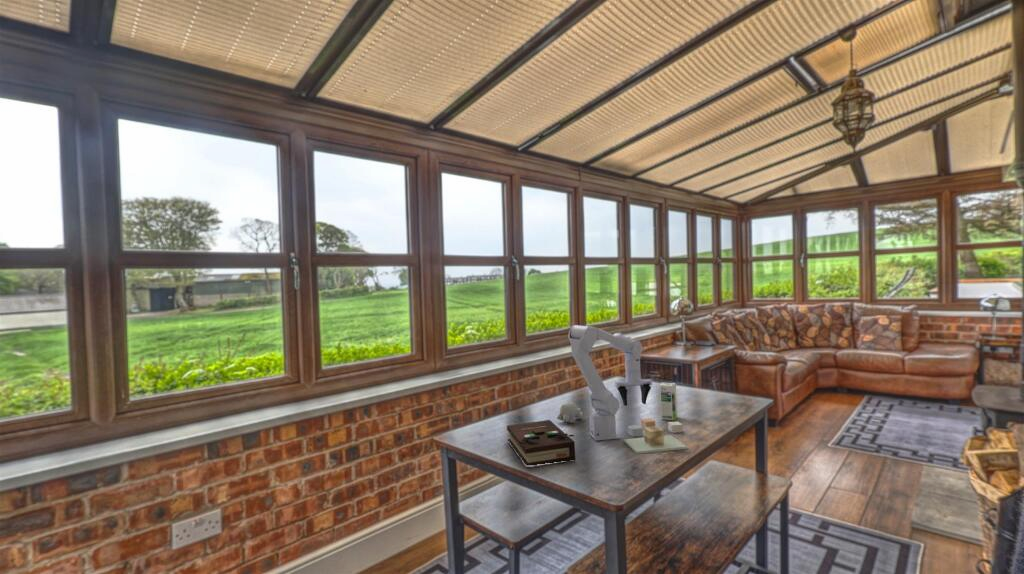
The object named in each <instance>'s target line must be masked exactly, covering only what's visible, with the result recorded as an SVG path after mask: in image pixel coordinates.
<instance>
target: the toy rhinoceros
mask: <svg viewBox="0 0 1024 574" xmlns="http://www.w3.org/2000/svg"><path fill="white" fill-rule="evenodd" d="M582 409H583V408H582V407H578V406H577V405H576V404H575V403H574V402H572V401H564V402H562V403H561V405H560V407H559V413H558V414H557V416H556V419H557V420H559V421H563V422H565V421H566V422H565V423H569V424H574V421H575V420H574V419H576V420H578V419H579V420H580V419H582V415H583V412H582Z"/></svg>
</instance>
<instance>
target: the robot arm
mask: <svg viewBox="0 0 1024 574" xmlns="http://www.w3.org/2000/svg"><path fill="white" fill-rule="evenodd" d="M567 335H568V336H567V338H568V340H569V343H570V348H571V355H572V357H573V359H574V361H575V364H576V365H577V367H578V369H579V371H580V373H581V375H582V377H583V378H584V379H583V380H585V383H586V384H587V386H588V389H589V390H590V394H589V398H590V404H591V407H592V408H593V409H594V413H591V414H590V415H589V418H588V419H589V435H590V436H591V437H592V438H593V439H594V441H596V442H597V441H607V440H616V439H619V440H620V439H621V436H620V435H618V433H617V426H616V425H617V424H616V421H617V420H616V414H617V412H618V411H619V409H620V400H619V399H618V398H617V397H616V396H615V395H614V393H612V392H611V391H610V390H609V389H608V388H606V386H605V384H604V382H603V379H602V378H601V377H600V374H599V372H598V370H597V368H596V366H595V364H594V362H593V360H592V359H591V356H590V354H589V353H590V352H591V350H592V349H593V347H594V345H595V344H596V342H597V341H599V340H600V341H604V342H607V343H609V345H610V347H612V348H613V349H617V350H619V351H621V352H622V353H623V354H624V362H625V366H624V369H625V380H619V381H614V387H615V388H617V390H618V393H619V394H620V397H621V399H622V403H623V406H626V407H627V406H628V399H627V398H628V389H627V387H638V386H639V387H640V392H641V403H642V404H644V405H646V404H647V398H648V396H649V393H650V391H651V389H652V386H653V379H650V378H649V379H645V378H644V379H643V378H642V377H641V374H642V373H641V357H642V353H643V349H644V346H643V344H642V343H641V341H640V340H637V339H632V337H631V336H625V335H624V334H623V332H617V333H613V334H612V333H610V332H608V331H606V330H604V329H601V328H599V327H595V326H594V325H593V326H592V325H589V326H588V325H579V324H574V325H572V326H571V327H570V329H569V331H568V334H567Z"/></svg>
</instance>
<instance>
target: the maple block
mask: <svg viewBox="0 0 1024 574" xmlns="http://www.w3.org/2000/svg"><path fill="white" fill-rule="evenodd" d="M664 432H665V431H664V430H663V429H662V428H661V427H659V426H658V425H655V426H651V427H644V428H643V438H644V441H645V442H646V443H647V444H649V445H650V446H656V445H664V436H665V435H664Z"/></svg>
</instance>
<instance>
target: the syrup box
mask: <svg viewBox="0 0 1024 574" xmlns="http://www.w3.org/2000/svg"><path fill="white" fill-rule="evenodd" d="M659 397H660V415H661V416H660V419H661V420H666V421H673V422H676V419H677V417H678V409H677V385H676V382H661V383H660V384H659Z"/></svg>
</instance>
